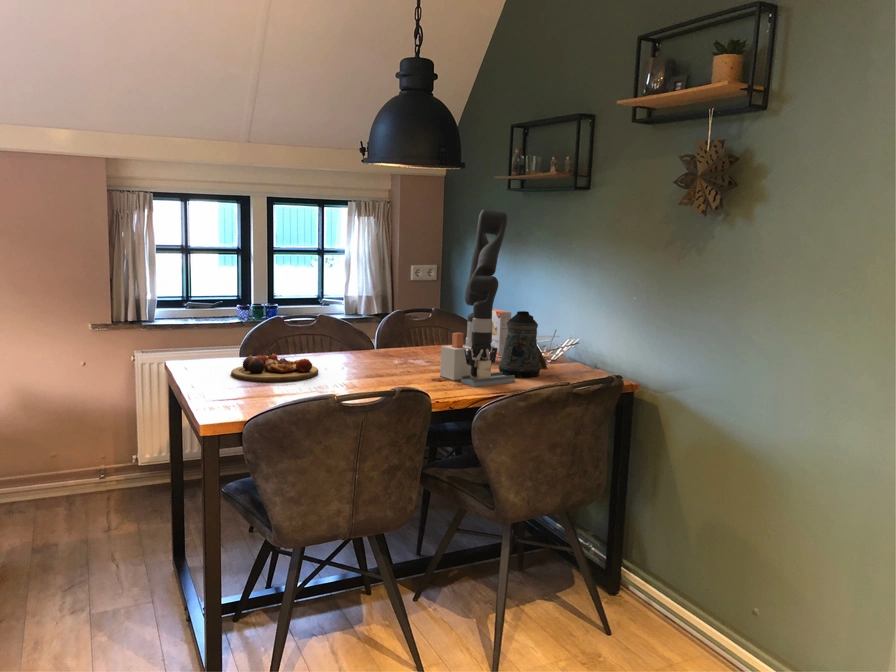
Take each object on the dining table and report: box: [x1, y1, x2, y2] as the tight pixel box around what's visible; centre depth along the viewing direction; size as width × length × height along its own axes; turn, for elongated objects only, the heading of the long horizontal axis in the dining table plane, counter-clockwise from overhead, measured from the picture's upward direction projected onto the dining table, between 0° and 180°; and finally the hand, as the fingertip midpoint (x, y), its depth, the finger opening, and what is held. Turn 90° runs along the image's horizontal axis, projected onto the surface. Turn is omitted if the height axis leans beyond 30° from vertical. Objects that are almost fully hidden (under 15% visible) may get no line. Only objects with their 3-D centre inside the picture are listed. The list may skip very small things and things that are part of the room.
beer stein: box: [498, 310, 541, 379], centre depth 279 cm, size 16×19×25 cm
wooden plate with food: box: [230, 352, 319, 383], centre depth 265 cm, size 32×32×8 cm
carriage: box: [470, 357, 492, 379], centre depth 259 cm, size 6×5×8 cm
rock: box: [537, 345, 548, 370], centre depth 297 cm, size 11×9×10 cm
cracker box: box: [491, 308, 512, 356], centre depth 323 cm, size 14×6×21 cm, turn 25°
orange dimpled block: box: [451, 332, 464, 348], centre depth 266 cm, size 3×3×9 cm
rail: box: [460, 371, 516, 388], centre depth 262 cm, size 8×19×2 cm, turn 125°
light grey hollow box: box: [439, 344, 473, 382], centre depth 267 cm, size 9×9×12 cm
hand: (480, 375), depth 259 cm, fingers closed on carriage, 5 cm apart
